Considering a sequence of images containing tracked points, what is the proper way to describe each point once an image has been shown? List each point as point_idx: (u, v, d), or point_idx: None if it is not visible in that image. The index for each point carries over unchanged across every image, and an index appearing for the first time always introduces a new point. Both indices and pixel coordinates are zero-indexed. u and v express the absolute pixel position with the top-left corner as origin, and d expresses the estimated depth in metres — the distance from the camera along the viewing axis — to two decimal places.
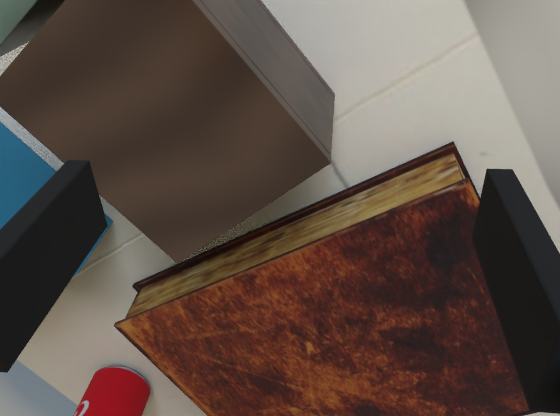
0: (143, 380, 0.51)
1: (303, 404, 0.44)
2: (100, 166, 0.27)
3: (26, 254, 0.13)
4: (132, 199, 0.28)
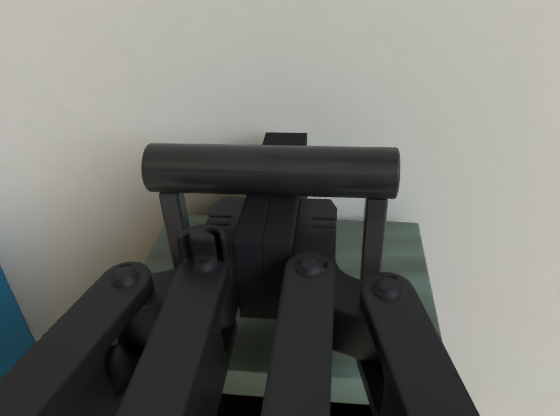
0: None
1: None
2: None
3: None
4: None
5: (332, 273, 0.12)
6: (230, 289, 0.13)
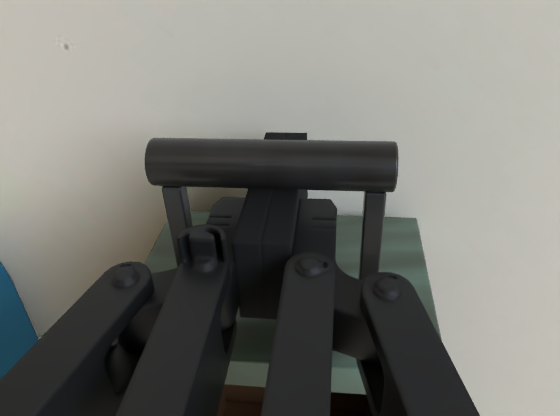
0: None
1: None
2: None
3: None
4: None
5: (332, 273, 0.12)
6: (230, 289, 0.13)
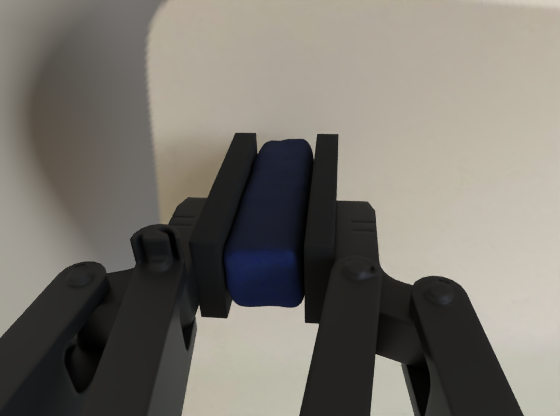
0: None
1: None
2: None
3: (235, 213, 0.15)
4: None
5: (379, 279, 0.11)
6: (188, 287, 0.13)
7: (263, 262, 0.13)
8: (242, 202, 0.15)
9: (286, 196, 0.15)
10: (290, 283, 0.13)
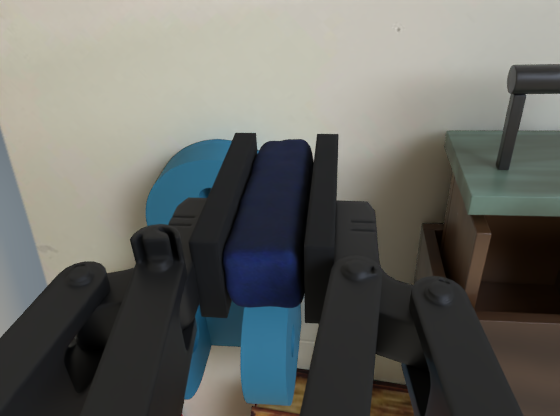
0: None
1: None
2: None
3: (235, 213, 0.15)
4: None
5: (379, 279, 0.11)
6: (187, 287, 0.13)
7: (263, 263, 0.13)
8: (241, 202, 0.15)
9: (286, 197, 0.15)
10: (289, 284, 0.13)
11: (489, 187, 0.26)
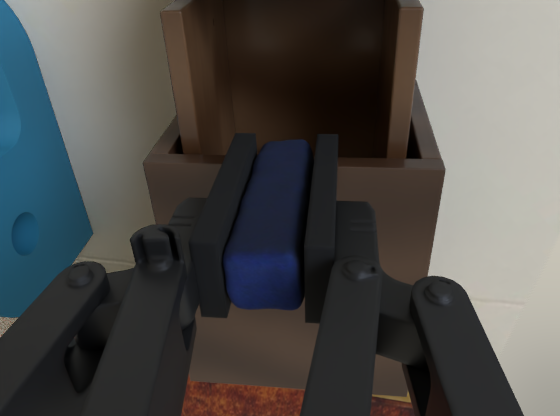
0: None
1: None
2: None
3: (235, 213, 0.15)
4: (203, 321, 0.24)
5: (379, 279, 0.11)
6: (187, 287, 0.13)
7: (263, 266, 0.13)
8: (242, 204, 0.15)
9: (287, 198, 0.15)
10: (290, 286, 0.13)
11: None
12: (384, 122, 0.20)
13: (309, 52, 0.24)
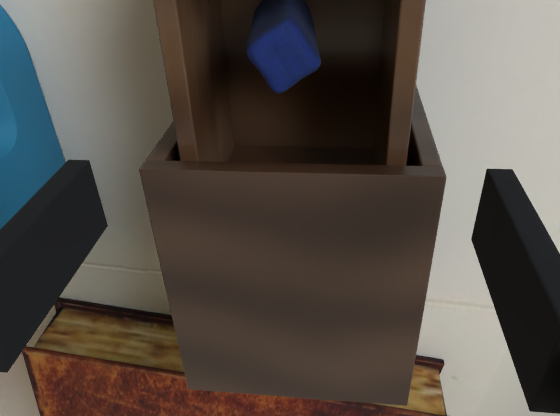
0: None
1: None
2: (198, 292, 0.23)
3: (26, 254, 0.13)
4: (200, 329, 0.24)
5: None
6: None
7: (303, 50, 0.17)
8: (291, 3, 0.18)
9: (312, 32, 0.19)
10: (295, 77, 0.17)
11: None
12: (386, 104, 0.20)
13: None
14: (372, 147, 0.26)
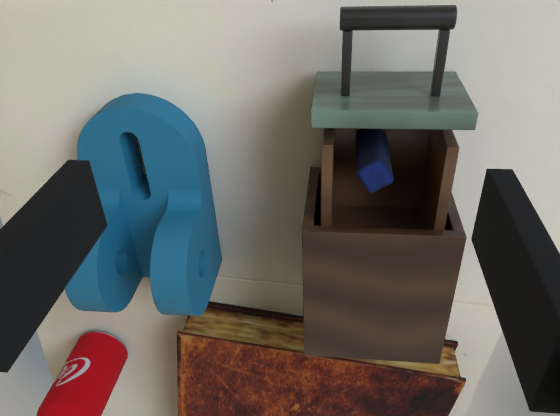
0: (127, 355, 0.60)
1: None
2: (322, 296, 0.40)
3: (26, 254, 0.13)
4: (319, 318, 0.41)
5: None
6: None
7: (385, 174, 0.34)
8: (379, 145, 0.35)
9: (389, 158, 0.36)
10: (380, 186, 0.34)
11: (327, 106, 0.32)
12: (433, 195, 0.36)
13: None
14: (418, 208, 0.43)
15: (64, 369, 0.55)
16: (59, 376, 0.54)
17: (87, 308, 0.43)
